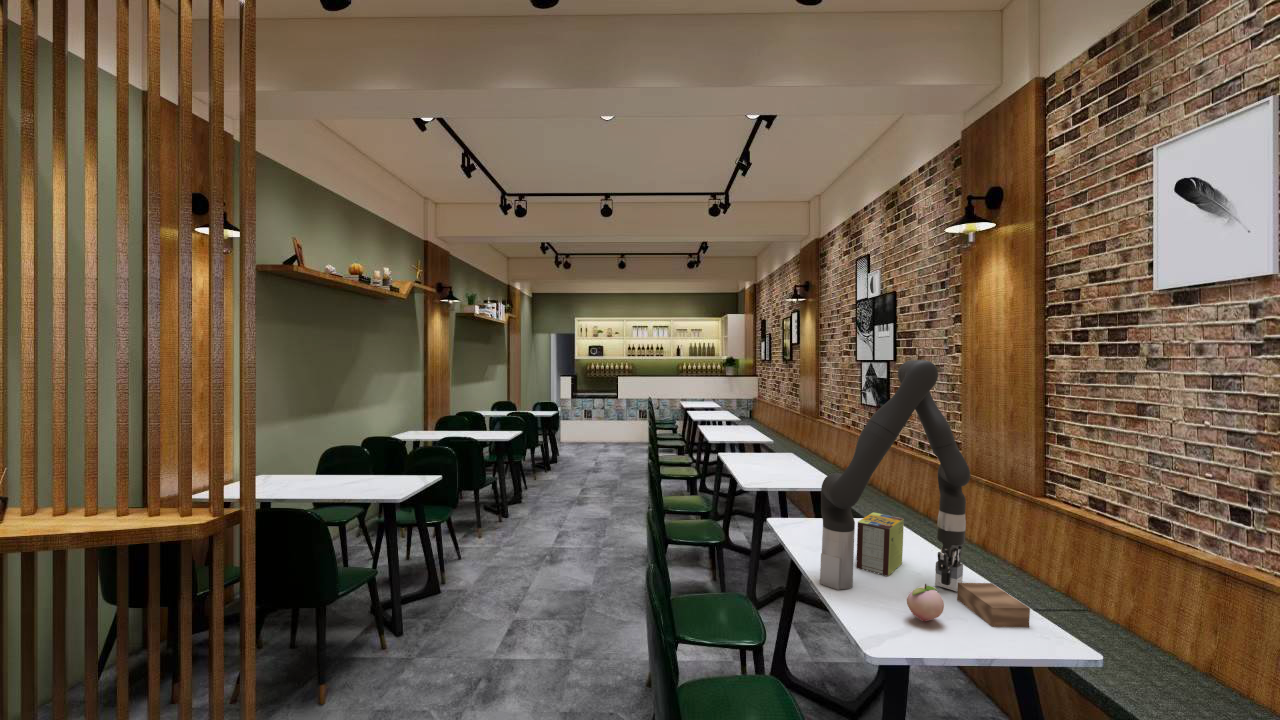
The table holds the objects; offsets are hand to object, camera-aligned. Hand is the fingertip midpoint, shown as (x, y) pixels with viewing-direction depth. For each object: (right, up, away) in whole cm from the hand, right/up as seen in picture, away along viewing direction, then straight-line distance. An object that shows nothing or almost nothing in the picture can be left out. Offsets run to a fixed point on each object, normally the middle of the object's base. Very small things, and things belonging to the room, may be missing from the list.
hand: (948, 581), depth 178 cm
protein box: (-14, -1, +17) cm, 22 cm away
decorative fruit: (-18, -2, -23) cm, 29 cm away
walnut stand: (+3, -2, -16) cm, 17 cm away
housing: (0, -1, 0) cm, 1 cm away
